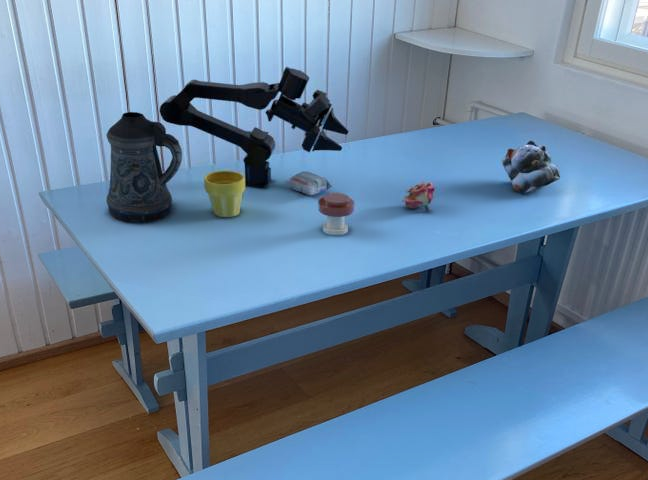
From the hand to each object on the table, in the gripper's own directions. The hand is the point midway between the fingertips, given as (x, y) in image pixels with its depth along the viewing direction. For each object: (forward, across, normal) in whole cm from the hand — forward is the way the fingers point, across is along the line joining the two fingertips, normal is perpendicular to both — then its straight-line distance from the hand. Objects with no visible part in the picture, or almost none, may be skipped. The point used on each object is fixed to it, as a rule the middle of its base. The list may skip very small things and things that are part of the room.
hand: (344, 140), depth 202 cm
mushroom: (+7, -29, +7) cm, 30 cm away
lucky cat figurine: (+55, +15, -6) cm, 57 cm away
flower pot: (-20, -26, +20) cm, 39 cm away
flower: (+25, -10, +3) cm, 27 cm away
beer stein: (-39, -30, +28) cm, 57 cm away
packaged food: (-3, -7, +16) cm, 18 cm away
